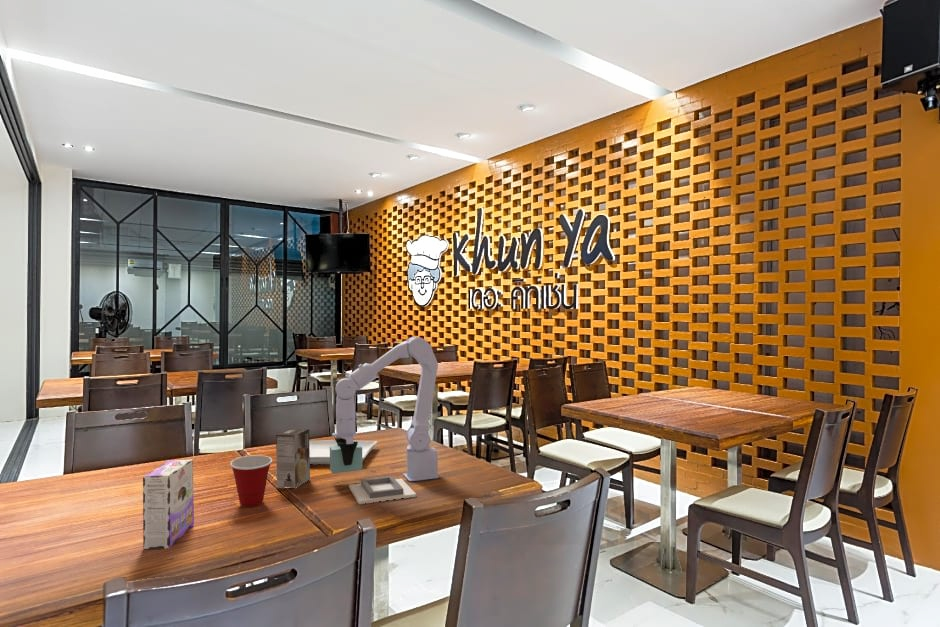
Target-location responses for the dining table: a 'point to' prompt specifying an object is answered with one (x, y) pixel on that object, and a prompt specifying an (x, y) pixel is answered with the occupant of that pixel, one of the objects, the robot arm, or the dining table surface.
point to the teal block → (337, 460)
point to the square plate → (322, 450)
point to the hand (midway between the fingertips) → (346, 462)
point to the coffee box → (292, 458)
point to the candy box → (167, 504)
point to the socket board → (381, 490)
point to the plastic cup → (251, 478)
